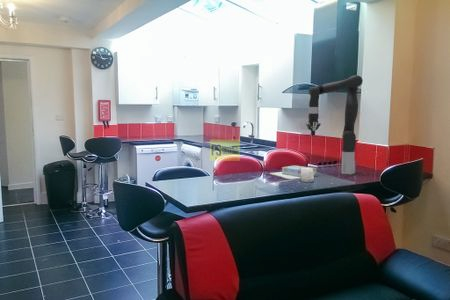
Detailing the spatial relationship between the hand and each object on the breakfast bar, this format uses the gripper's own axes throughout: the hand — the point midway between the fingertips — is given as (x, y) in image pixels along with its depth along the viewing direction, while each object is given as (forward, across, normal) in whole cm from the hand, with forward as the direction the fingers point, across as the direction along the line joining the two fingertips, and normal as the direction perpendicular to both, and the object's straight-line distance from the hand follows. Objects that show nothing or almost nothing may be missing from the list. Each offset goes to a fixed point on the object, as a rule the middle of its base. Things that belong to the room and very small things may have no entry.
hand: (313, 135), depth 284 cm
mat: (+29, -20, 0) cm, 36 cm away
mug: (+30, -23, -23) cm, 44 cm away
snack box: (+26, -7, -1) cm, 27 cm away
